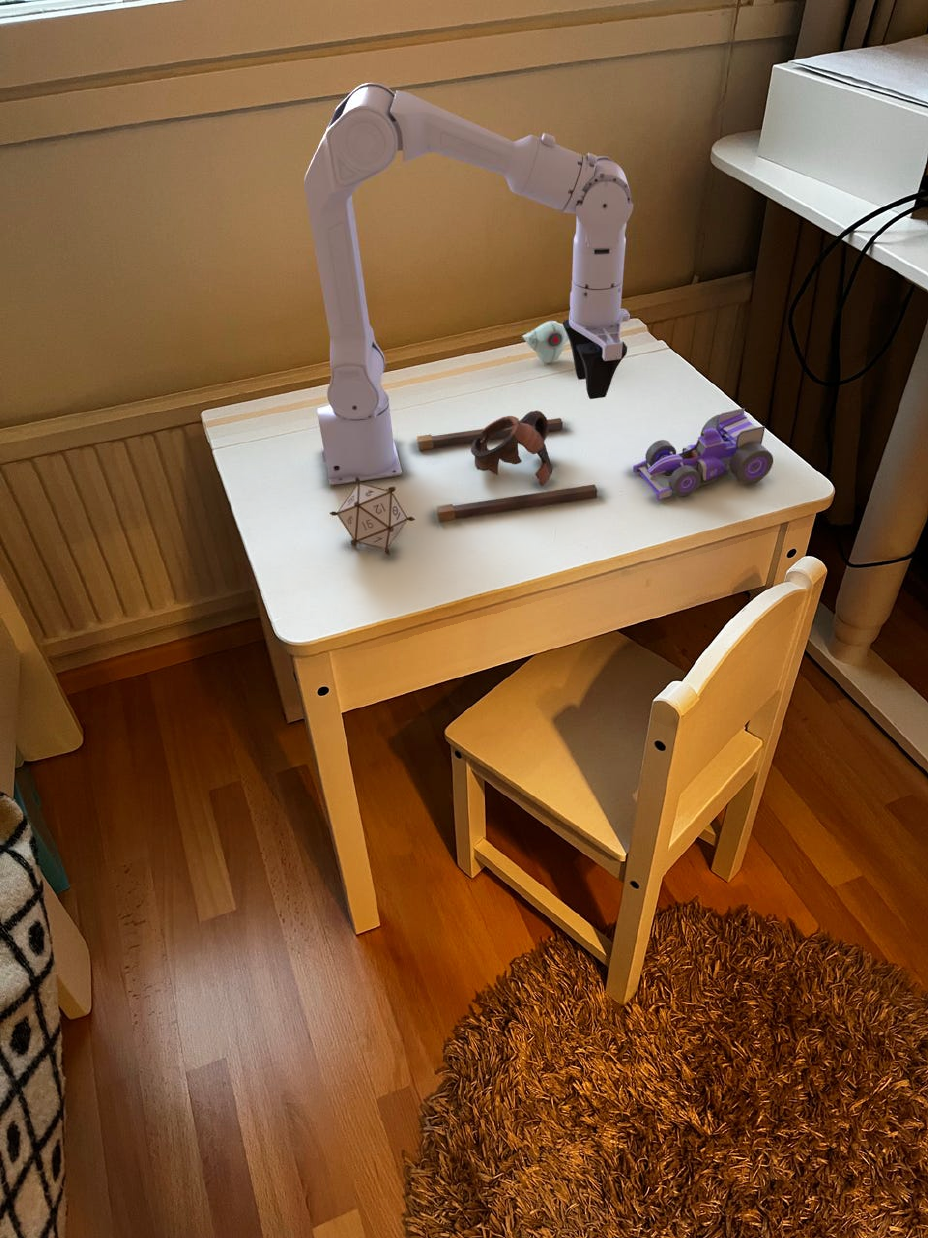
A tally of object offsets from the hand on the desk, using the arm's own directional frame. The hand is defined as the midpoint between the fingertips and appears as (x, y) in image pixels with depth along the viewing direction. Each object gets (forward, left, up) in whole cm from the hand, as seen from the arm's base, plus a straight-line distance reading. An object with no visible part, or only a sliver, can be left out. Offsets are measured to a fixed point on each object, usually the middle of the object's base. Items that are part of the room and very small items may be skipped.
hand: (591, 386), depth 113 cm
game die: (-29, -11, -11) cm, 33 cm away
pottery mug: (-9, 0, -11) cm, 14 cm away
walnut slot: (-11, 0, -10) cm, 15 cm away
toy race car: (+12, -7, -11) cm, 18 cm away
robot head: (+2, +26, -11) cm, 28 cm away
